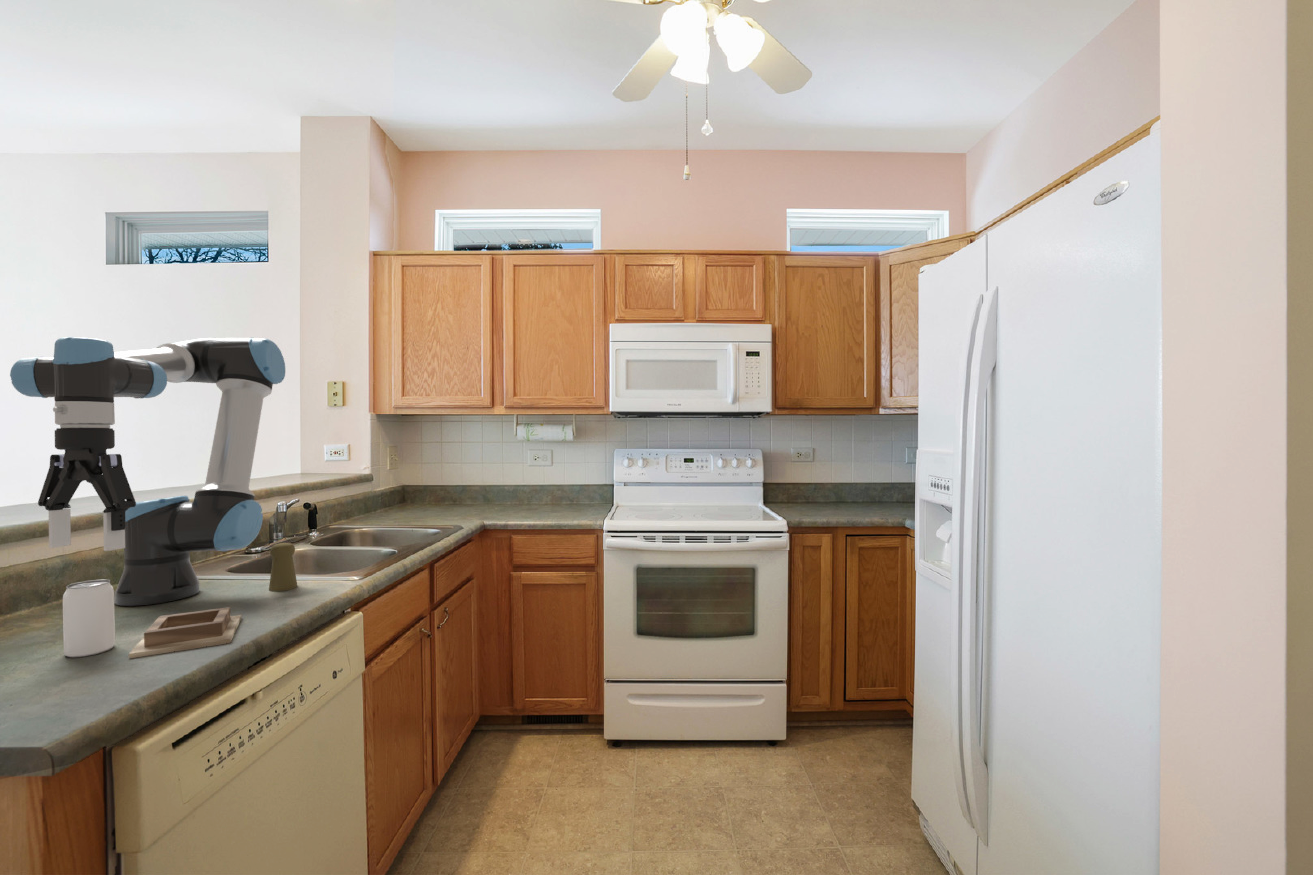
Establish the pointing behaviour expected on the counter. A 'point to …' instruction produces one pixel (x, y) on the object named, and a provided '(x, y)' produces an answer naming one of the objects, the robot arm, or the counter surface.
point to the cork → (282, 567)
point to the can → (88, 618)
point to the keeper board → (187, 632)
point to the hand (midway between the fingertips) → (86, 548)
